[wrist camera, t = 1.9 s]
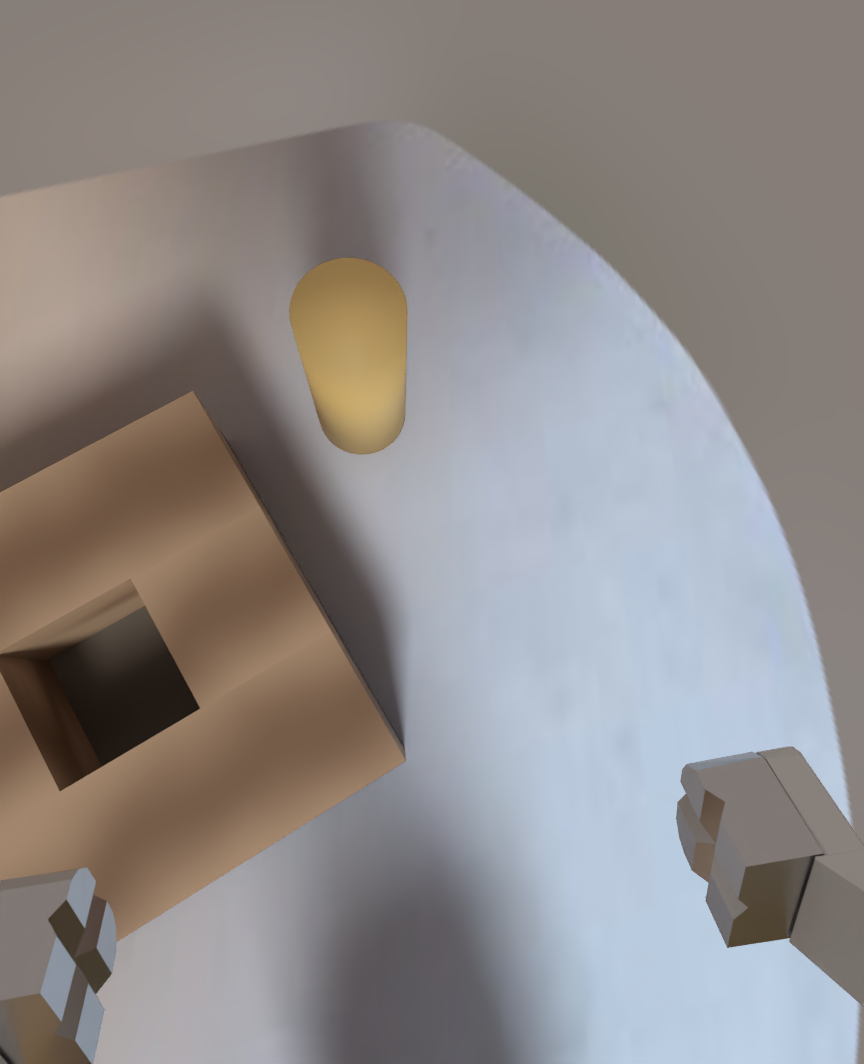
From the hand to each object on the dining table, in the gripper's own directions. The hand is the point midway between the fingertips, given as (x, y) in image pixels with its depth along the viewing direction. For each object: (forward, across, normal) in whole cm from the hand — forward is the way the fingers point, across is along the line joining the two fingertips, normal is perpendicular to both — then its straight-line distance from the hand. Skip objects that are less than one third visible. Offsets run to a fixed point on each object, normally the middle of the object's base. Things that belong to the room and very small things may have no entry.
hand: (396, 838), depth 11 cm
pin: (+27, 0, +6) cm, 28 cm away
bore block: (+19, +10, +14) cm, 26 cm away
